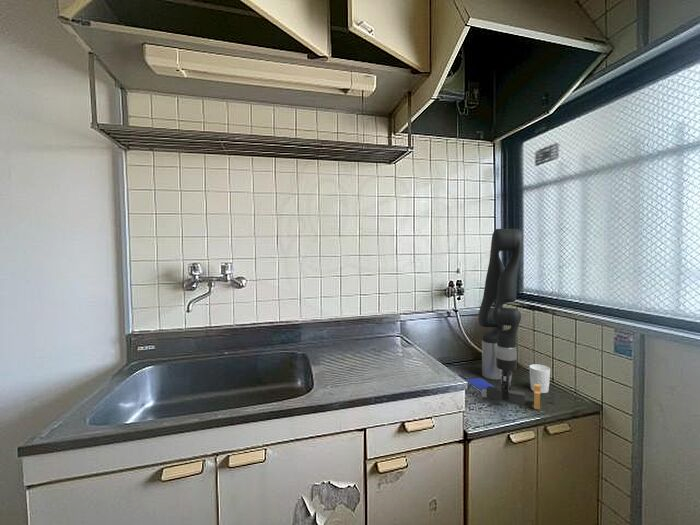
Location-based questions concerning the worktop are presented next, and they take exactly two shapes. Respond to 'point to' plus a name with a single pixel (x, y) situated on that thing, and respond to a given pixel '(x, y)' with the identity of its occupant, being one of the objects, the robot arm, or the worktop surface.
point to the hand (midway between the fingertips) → (506, 395)
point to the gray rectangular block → (497, 395)
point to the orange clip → (537, 396)
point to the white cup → (540, 377)
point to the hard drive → (479, 384)
